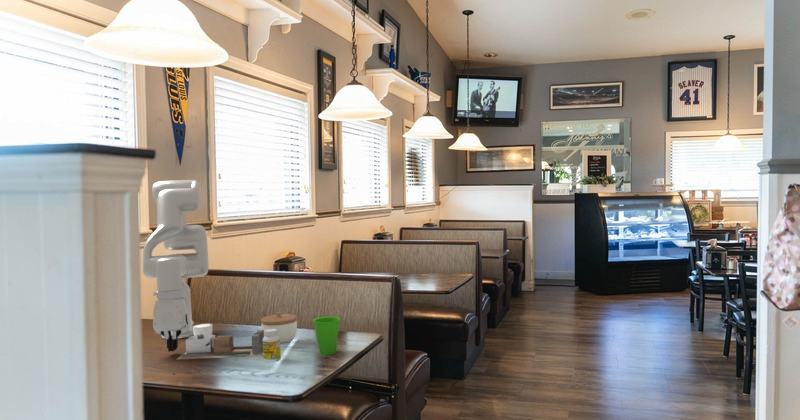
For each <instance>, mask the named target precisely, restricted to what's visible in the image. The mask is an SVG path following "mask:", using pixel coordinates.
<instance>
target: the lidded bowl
mask: <svg viewBox="0 0 800 420" xmlns="http://www.w3.org/2000/svg"><path fill="white" fill-rule="evenodd" d="M260 325H261V330H264V331H265V330H267V329H277V335H278V336H279V337H280V344H283V343H287V342H290V341H292V340H293V339H294V337H295V336H296V334H297V330H298V316H297V315H296V314H292V313H281V311H277V312H276V314H271V315H267V316H266V315H265V316H263V317H262V318H260ZM264 337H265V335H264Z"/></svg>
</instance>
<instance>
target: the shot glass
mask: <svg viewBox="0 0 800 420" xmlns="http://www.w3.org/2000/svg"><path fill="white" fill-rule="evenodd" d="M192 329H193V333H194V335H193V336H197V335H199V334H204V335H213V323H199V324H195V325H192Z"/></svg>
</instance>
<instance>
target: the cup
mask: <svg viewBox="0 0 800 420" xmlns="http://www.w3.org/2000/svg"><path fill="white" fill-rule="evenodd" d="M340 321H341V317H339V316H333V315H332V316H322V317H321V316H320V317H316V318H314V319H312V323H313V325H314V329H315V333H316V335H315V336H316V339H317V344H318V350H319V353H320V354H321V355H324V356H328V355H333V354H335V353H336V352H337V345H338V336H339V327H340Z"/></svg>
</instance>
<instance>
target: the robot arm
mask: <svg viewBox="0 0 800 420" xmlns="http://www.w3.org/2000/svg"><path fill="white" fill-rule="evenodd" d="M151 190H152V196H153V199H154V201H155V203H156V205H157V207H156V208H157V210H156V220H157V221H156V222H157V223H156V224H157V225H156V226H157V227H156V229H155V230H154V231H153V232H152V233H151V234H150V236H149V237H148V238H147V239H146V241H145V244H144V246H143V250H142V273H143V275H144V276H145V277H146V278H148V279H156V291H155V292H153V297H156V299H155V300H154V304H153V313H152V314H153V316H152V317H153V319H152V328H153V330H154V334H159V335H161V338H162V339H165V340H166V348H167V351H168V352H175V351H176V350H177V349H178V347H179V340H178V339H183V338H189V337H191V336H194V333H193V325H194V323H195V322H194V320H193V316H192V300H191V299H192V298H191V296H192V294H191V288H190V286H189V285H188V284H187V282H185V280H184V279H191V278H202V277H205V276H206V275H208V274H209V273H208V272H209V269H210V268H209V265H210V264H209V251H208V247H209V246H208V236H207V235H208V234H207V230H206V228H205V227H204V226H203V225H201V224H191V225H190V224H188V225H187V221H186V219H187V218H186V212H194V211H198V210H199V209H200V208H201V203H202V186H201V183H200V182H199V181H198V180H196V179H184V180H183V179H181V180H178V179H175V180H169V179H168V180H161V181H157V182H155V183H153V184H152V187H151ZM161 243H163V246H164V248H165V249H166V250H168V251H185V250H186V251H187V250H194V251H195V252H188V253H186V252H184V253H183V252H182V253H172V254H166V255H153V253H154V249H155V248H156V247H157V246H158V245H159V244H161Z"/></svg>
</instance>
